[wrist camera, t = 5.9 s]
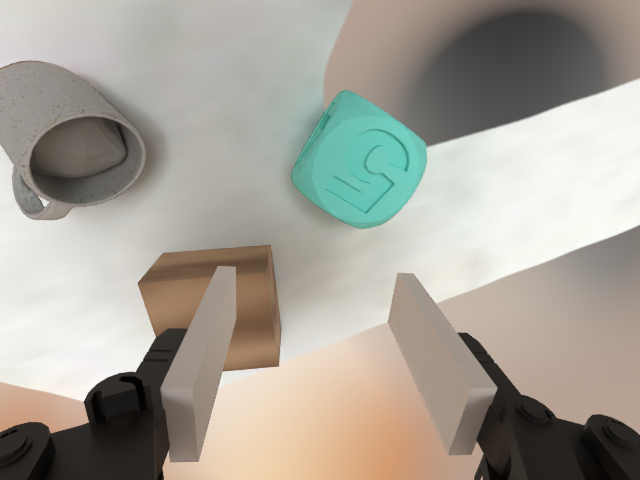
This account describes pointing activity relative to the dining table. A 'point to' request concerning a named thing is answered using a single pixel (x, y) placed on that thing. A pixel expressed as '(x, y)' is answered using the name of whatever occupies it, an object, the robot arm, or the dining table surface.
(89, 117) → the ceramic mug
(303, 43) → the dining table surface
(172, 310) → the base block
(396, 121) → the decorative dice
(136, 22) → the dining table surface
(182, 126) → the dining table surface
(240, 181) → the dining table surface
